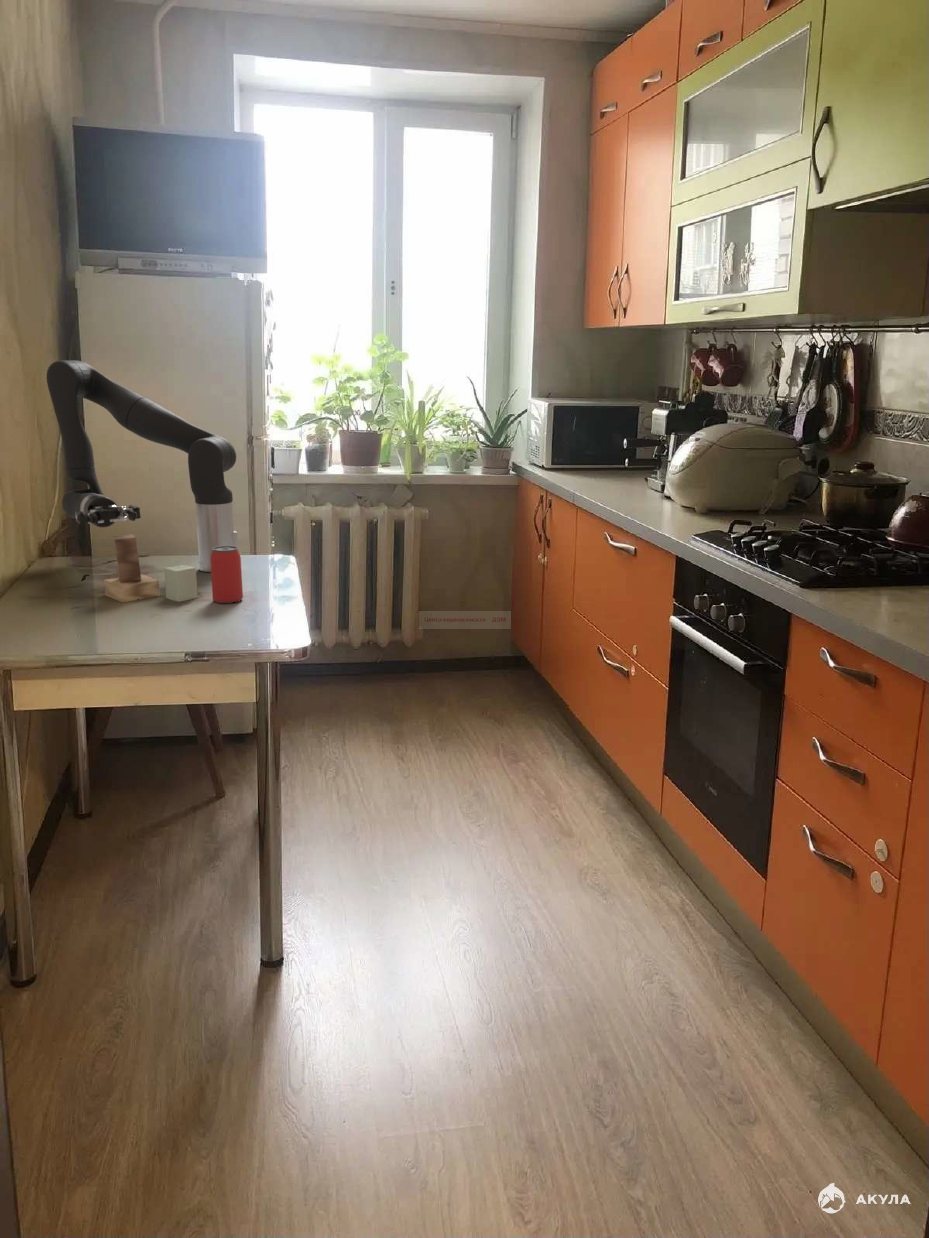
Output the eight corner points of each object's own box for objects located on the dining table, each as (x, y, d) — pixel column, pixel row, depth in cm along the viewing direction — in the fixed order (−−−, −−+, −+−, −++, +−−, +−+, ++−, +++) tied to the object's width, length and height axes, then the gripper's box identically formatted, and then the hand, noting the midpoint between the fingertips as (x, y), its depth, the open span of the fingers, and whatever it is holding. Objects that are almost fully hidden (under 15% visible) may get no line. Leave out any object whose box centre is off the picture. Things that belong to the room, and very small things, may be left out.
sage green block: (185, 594, 231) (183, 564, 229) (197, 597, 228) (195, 567, 226) (166, 598, 228) (164, 567, 226) (178, 601, 224) (176, 571, 223)
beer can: (246, 597, 228) (243, 545, 225) (237, 604, 222) (234, 551, 219) (218, 596, 229) (215, 545, 226) (208, 603, 223) (205, 550, 219)
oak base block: (142, 590, 236) (141, 573, 235) (160, 597, 230) (158, 580, 229) (105, 596, 230) (103, 579, 229) (122, 604, 224) (120, 586, 223)
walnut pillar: (139, 576, 232) (133, 533, 229) (141, 580, 228) (135, 537, 225) (119, 579, 230) (113, 536, 227) (120, 583, 226) (114, 539, 223)
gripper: (66, 498, 243) (81, 505, 230) (126, 492, 251) (144, 499, 237) (70, 528, 245) (85, 537, 232) (129, 522, 253) (147, 530, 239)
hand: (115, 518), depth 235 cm, fingers open, 8 cm apart
